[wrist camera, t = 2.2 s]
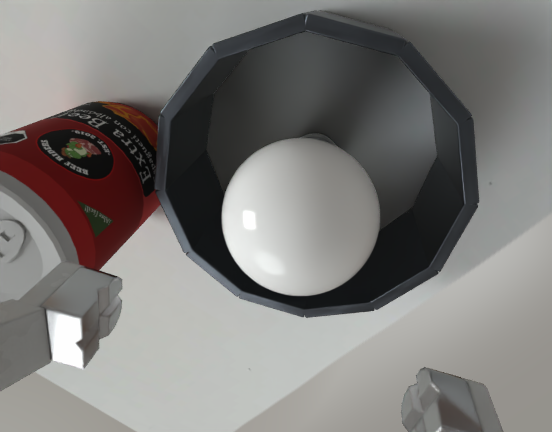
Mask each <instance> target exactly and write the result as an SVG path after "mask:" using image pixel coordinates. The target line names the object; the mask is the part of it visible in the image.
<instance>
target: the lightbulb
mask: <svg viewBox="0 0 552 432" xmlns="http://www.w3.org/2000/svg"><path fill="white" fill-rule="evenodd" d="M221 218H222V230H223V235H224V239H225V242H226V245H227V247H228V249H229V252H230V254H231V255H232V257H233V259H234V260H235V262H236V263H237V265H238V266H239V267H240V268H241V270H242V271H243V272H244V273H245V274H246V275H247V276H249V277H250V278H251V279H252V280H253V281H255V282H256V283H258V284H259V285H261V286H263V287H265V288H267V289H269V290H271V291H274V292H277V293H280V294H285V295H291V296H311V295H317V294H321V293H325V292H328V291H330V290H333V289H335V288H337V287H339V286H341V285H342V284H344V283H345V282H347V281H348V280H350V279H351V278H352V277H353V276H354V275H355V274H356V273H357V272H358V271H359V270H360V269H361V268H362V267H363V265H364V264H365V263H366V261H367V260H368V258H369V257H370V255H371V253H372V251H373V249H374V246H375V244H376V241H377V238H378V233H379V228H380V206H379V201H378V196H377V193H376V190H375V188H374V185H373V183H372V181H371V179H370V177H369V176H368V174H367V172H366V171H365V170H364V168H363V167H362V166H361V165H360V164H359V163H358V161H357V160H355V159H354V158H353V157H352V156H351V155H350V154H348V153H347V152H346V151H344V150H342V149H341V148H339V147H337V146H336V145H335V143H334V142H333V141H332V140H331V139H330V138H328V137H327V136H325V135H322V134H318V133H312V134H307V135H305V136H303V137H301V138H290V139H284V140H280V141H277V142H274V143H271V144H269V145H267V146H265V147H263V148H261V149H259V150H258V151H256V152H255V153H253V154H252V155H251V156H250V157H248V158H247V159H246V160H245V161H244V162H243V163H242V164H241V166H240V167H239V168H238V169H237V171H236V172H235V174H234V175H233V177H232V179H231V180H230V183H229V185H228V187H227V190H226V192H225V196H224V200H223V205H222V216H221Z"/></svg>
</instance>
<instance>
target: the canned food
mask: <svg viewBox="0 0 552 432" xmlns="http://www.w3.org/2000/svg"><path fill="white" fill-rule="evenodd" d="M157 136H158V126H157V125H156V124H155V123H154V122H153V121H152V120H151V119H150V118H149V117H147V116H146V115H145V114H143V113H142V112H140V111H138V110H136V109H134V108H132V107H130V106H127V105H124V104H120V103H113V102H102V101H98V102H91V103H86V104H84V105H81V106H78V107H76V108H73V109H70V110H67V111H65V112H62V113H59V114H57V115H54V116H51V117H48V118H46V119H43V120H40V121H38V122H35V123H32V124H29V125H27V126H24V127H21V128H19V129H16V130H13V131H11V132H8V133H5V134H2V135H0V303H1V302H4V301H7V300H10V299H14V300H19V299H20V298H21V297H22V296H23V295H24V294H25V293H27V292H28V291H29V290H30V289H31V288H32V287H33V286H34V285H36V284H37V283H38V282H39V281H40V280H41V279H42V278H44V277H45V276H46V275H47V274H48V273H49V272H50V271H51V270H53V269H54V268H55V267H56V266H57V265H58V264H59V263H61V262H64V261H70V262H73V263H76V264H79V265H82V266H86V267H89V268H93V269H96V270H100V269H101V268H102V267H103V266H104V264H105V263H106V262H107V261H108V260H109V259H110V258H111V257H112V256H113V255H114V254H115V253H116V252H117V251H118V250H119V248H120V247H121V246H122V245H123V244H124V243H125V242H126V241H127V240H128V239H129V238H130V237H131V236H132V235H133V234H134V232H135V231H136V230H137V229H138V228H139V227H140V226H141V225H142V224H143V223H144V222H145V221H146V220H147V219H148V218H149V216H150V215H151V214H152V213H153V212H154V211H155V210H156V209H157V208H158V207H159V206H160V205H161V204H160V202H159V199H158V197H157V195H156V193H155V190H156V189H154V182H155V167H156V151H157Z"/></svg>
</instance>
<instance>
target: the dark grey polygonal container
mask: <svg viewBox="0 0 552 432" xmlns="http://www.w3.org/2000/svg"><path fill="white" fill-rule="evenodd" d="M305 31H306V32H309V33H313V34H317V35H321V36H324V37H328V38H332V39H335V40H339V41H343V42H347V43H350V44H354V45H358V46H361V47H365V48H369V49H372V50H376V51H380V52H384V53H387V54H391V55H395V56H398V57H399V59H400V60H401V61H402V62H403V63H404V64H405V66H406V67H407V68H408V69H409V70H410V71H411V72H412V74H413V75H414V76H415V77H416V78H417V79H418V81H419V82H420V83H421V84H422V85H423V86H424V87H425V89H426V90H427V91H428V92H429V93H430V99H431V107H432V116H433V124H434V133H435V141H436V150H437V157H436V159H435V161H434V163H433V165H432V167H431V170H430V172H429V174H428V176H427V178H426V180H425V182H424V184H423V186H422V188H421V190H420V193H419V195H418V197H417V199H416V201H415V203H414V205H413V207H412V208H411V209H410V210H409V211H407V212H406V213H404V214H403V215H401V216H400V217H399V218H397V219H396V220H394V221H393V222H392V223H390V224H389V225H387V226H386V227H384V228H383V229H382V230H380V231H379V233H378V238H377V241H376V244H375V246H374V249H373V251H372V253H371V255H370V257H369V258H368V260H367V261H366V263H365V264H364V265H363V267H362V268H361V269H360V270H359V271H358V272H357V273H356V274H355V275H354V276H353V277H352V278H351V279H350V280H348V281H347V282H345V283H344V284H342V285H341V286H339V287H337V288H335V289H333V290H330V291H328V292H325V293H321V294H317V295H311V296H291V295H285V294H280V293H277V292H274V291H271V290H269V289H267V288H265V287H263V286H261V285H259V284H258V283H256V282H255V281H253V280H252V279H251V278H250V277H249V276H247V275H246V274H245V273H244V272H243V271H242V270H241V268H240V267H239V266H238V265H237V263H236V262H235V260H234V259H233V257H232V255H231V254H230V252H229V249H228V247H227V245H226V242H225V239H224V235H223V230H222V218H221V216H222V205H223V200H224V194H223V191H222V189H221V186H220V184H219V181H218V178H217V176H216V173H215V171H214V168H213V166H212V163H211V161H210V158H209V156H208V153H207V151H206V147H207V140H208V133H209V126H210V118H211V111H212V104H213V97H214V93H215V91H216V90H217V89H218V88H219V87H220V85H221V84H222V83H223V82H224V80H225V79H226V78H227V77H228V76H229V74H230V73H231V72H232V71H233V69H234V68H235V67H236V66H237V65H238V63H239V62H240V61H241V60H242V58H243V57H244V56H245V55H246V53H247V52H248V51H249V50H250V49H253V48H256V47H259V46H262V45H265V44H268V43H271V42H274V41H277V40H280V39H283V38H287V37H290V36H293V35H296V34H299V33H302V32H305ZM160 114H161V115H159V121H158V136H157V151H156V167H155V182H154V189H156V190H155V193H156V195H157V197H158V199H159V202H160V204H161V206H162V208H163V210H164V212H165V214H166V216H167V218H168V220H169V222H170V224H171V227H172V229H173V231H174V233H175V235H176V237H177V239H178V241H179V243H180V245H181V247H182V250H183V252H184V253H186V252H187V253H186V255H187V256H188V257H189V258H190V259H191V260H193V261H194V262H195V263H196V264H198V265H199V266H200V267H201V268H202V269H204V270H205V271H206V272H207V273H209V274H210V275H211V276H212V277H213V278H215V279H216V280H217V281H218V282H220V283H221V284H222V285H223V286H224V287H226V288H227V289H228V290H229V291H231V292H232V293H233V294H234V295H235V296H237V297H238V296H239V295H240V296H239V298H240V299H244V300H247V301H250V302H254V303H257V304H260V305H264V306H267V307H270V308H274V309H277V310H280V311H284V312H287V313H290V314H294V315H297V316H300V317H304V315H305V317H306V318H308V317H318V316H328V315H338V314H348V313H358V312H368V311H374V308H375V309H376V310H378V309H379V308H381V307H383V306H384V305H386V304H388V303H389V302H391V301H393V300H395V299H396V298H398V297H400V296H401V295H403V294H405V293H406V292H408V291H410V290H412V289H413V288H415V287H417V286H418V285H420V284H422V283H423V282H425V281H427V280H429V279H430V278H432V277H434V276H435V275H437V274H438V271H439V272H440V271H441V269H442V268H443V266H444V264H445V262H446V261H447V259H448V257H449V256H450V254H451V252H452V250H453V249H454V247H455V245H456V244H457V242H458V240H459V238H460V237H461V235H462V233H463V232H464V230H465V228H466V226H467V225H468V223H469V221H470V220H471V218H472V216H473V214H474V213H475V211H476V209H477V208H478V205H477V203H479V191H478V177H477V163H476V149H475V135H474V121H473V118H472V117H471V116H472V115H471V113H470V112H469V111H468V110H467V108H466V107H465V106H464V105H463V104H462V102H461V101H460V100H459V99H458V98H457V97H456V95H455V94H454V93H453V92H452V91H451V90H450V88H449V87H448V86H447V85H446V84H445V82H444V81H443V80H442V79H441V78H440V77H439V75H438V74H437V73H436V72H435V71H434V69H433V68H432V67H431V66H430V65H429V64H428V62H427V61H426V60H425V59H424V58H423V56H422V55H421V54H420V53H419V52H418V51H417V49H416V48H415V47H414V46H413V45H412V43H411V42H409V41H408V40H406V39H405V38H404V37H402V36H401V35H399V34H398V33H396V32H395V31H393V30H391V29H388V28H385V27H381V26H377V25H373V24H370V23H366V22H362V21H358V20H355V19H351V18H347V17H344V16H340V15H336V14H332V13H329V12H325V11H321V10H320V11H311V12H306V13H301V14H298V15H296V16H293V17H290V18H287V19H284V20H281V21H278V22H275V23H272V24H269V25H266V26H263V27H260V28H258V29H255V30H252V31H249V32H246V33H243V34H240V35H237V36H234V37H231V38H228V39H225V40H222V41H220V42H217V43H214V44H213V46H210V47H209V48H208V49H207V50H206V52H205V53H204V54H203V56H202V57H201V58H200V60H199V61H198V62H197V64H196V65H195V66H194V68H193V69H192V70H191V72H190V73H189V74H188V76H187V77H186V78H185V80H184V81H183V82H182V84H181V85H180V86H179V88H178V89H177V90H176V92H175V93H174V94H173V96H172V97H171V98H170V100H169V101H168V102H167V104H166V105H165V106H164V108H163V109H162V110H161V112H160Z"/></svg>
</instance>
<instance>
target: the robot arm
mask: <svg viewBox="0 0 552 432" xmlns="http://www.w3.org/2000/svg"><path fill="white" fill-rule="evenodd" d="M121 290H122V279H121V278H120V277H117V276H114V275H111V274H108V273H105V272H102V271H99V270H96V269H93V268H89V267H86V266H82V265H79V264H76V263H73V262H70V261H64V262H61V263H59V264H58V265H57V266H56V267H55V268H54V269H53V270H51V271H50V272H49V273H48V274H47V275H46V276H45V277H44V278H42V279H41V280H40V281H39V282H38V283H37V284H36V285H34V286H33V287H32V288H31V289H30V290H29V291H28V292H27V293H25V294H24V295H23V296H22V297H21V298H20V299H19V300H14V299H10V300H7V301H4V302H1V303H0V391H2V390H3V389H5V388H7V387H9V386H10V385H12V384H14V383H15V382H17V381H19V380H21V379H23V378H24V377H26V376H28V375H30V374H31V373H33V372H35V371H37V370H38V369H40V368H42V367H44V366H45V365H47V364H49V363H50V362H51V361H55V362H59V363H62V364H66V365H70V366H73V367H77V368H81V369H84V368H85V367H86V366H87V364H88V363H89V362H90V360H91V359H92V357H93V356H94V355H95V353H96V352H97V351H98V349H99V339H101V338H104V337H106V336H108V335H109V334H110V333H111V331H112V330H113V329H114V327H115V325H116V323H117V321H118V319H119V317H120V313H121V309H122V300H121V299H120V297H119V296H118V293H119V292H120V291H121ZM416 378H417V384H414V385H411V386H409V387H408V389H407V391H406V393H405V394H404V397H403V402H402V410H401V414H402V423H403V425H404V426H405V428H406V429H407V431H408V432H503V430H502V427H501V424H500V421H499V419H498V416H497V414H496V411H495V408H494V405H493V403H492V400H491V397H490V395H489V392H488V389H487V388H486V386H485V385H484V384H482V383H478V382H475V381H472V380H468V379H464V378H461V377H458V376H454V375H451V374H447V373H444V372H440V371H437V370H433V369H429V368H426V367H424V368H422V369H420V371H419V372H418V374H417V375H416Z"/></svg>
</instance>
